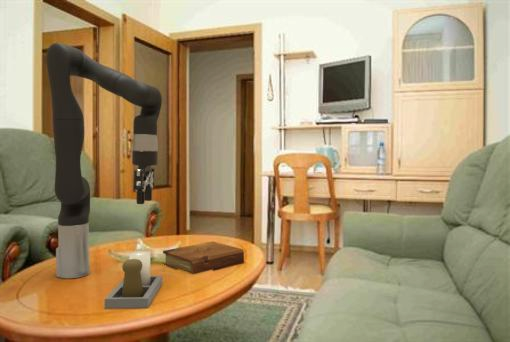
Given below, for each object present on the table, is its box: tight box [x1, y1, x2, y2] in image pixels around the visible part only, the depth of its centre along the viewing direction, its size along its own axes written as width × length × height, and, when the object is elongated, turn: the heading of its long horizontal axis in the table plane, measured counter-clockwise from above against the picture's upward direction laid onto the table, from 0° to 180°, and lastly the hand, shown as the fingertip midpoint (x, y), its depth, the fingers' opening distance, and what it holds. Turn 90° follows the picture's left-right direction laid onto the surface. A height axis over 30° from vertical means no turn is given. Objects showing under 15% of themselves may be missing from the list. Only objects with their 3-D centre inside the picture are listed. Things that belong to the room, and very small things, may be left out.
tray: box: [104, 275, 163, 310], centre depth 111 cm, size 11×19×3 cm, turn 2°
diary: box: [162, 240, 245, 275], centre depth 145 cm, size 23×19×6 cm
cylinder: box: [128, 249, 152, 286], centre depth 115 cm, size 6×6×11 cm
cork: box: [121, 258, 144, 297], centre depth 107 cm, size 6×6×11 cm
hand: (144, 202), depth 122 cm, fingers open, 8 cm apart
